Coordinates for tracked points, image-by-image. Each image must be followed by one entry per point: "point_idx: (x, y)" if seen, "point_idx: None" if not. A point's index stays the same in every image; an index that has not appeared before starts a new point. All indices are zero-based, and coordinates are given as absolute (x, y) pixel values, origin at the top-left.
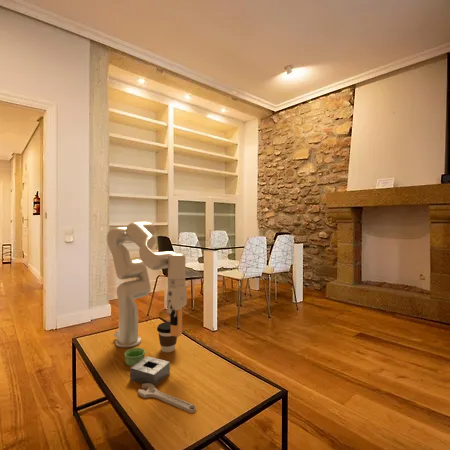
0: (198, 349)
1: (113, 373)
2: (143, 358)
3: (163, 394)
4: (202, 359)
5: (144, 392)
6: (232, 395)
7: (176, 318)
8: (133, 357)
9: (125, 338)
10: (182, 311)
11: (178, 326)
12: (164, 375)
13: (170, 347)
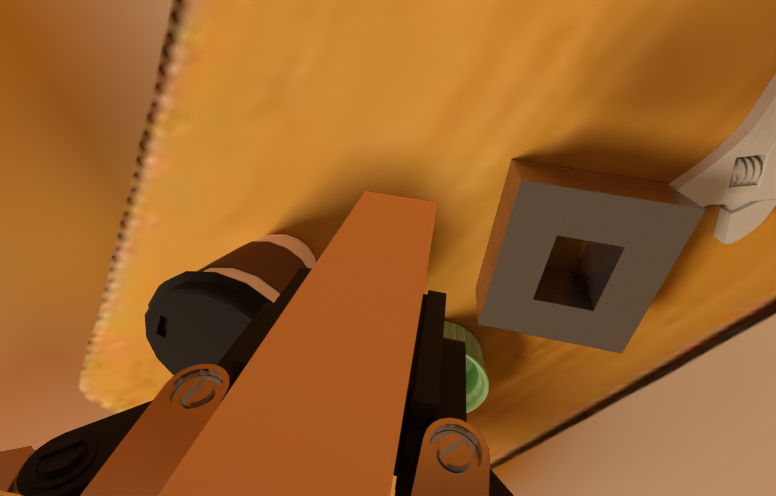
0: (207, 102)
1: (550, 385)
2: None
3: None
4: (301, 20)
5: (759, 204)
6: None
7: (440, 376)
8: (485, 373)
9: None
10: (171, 381)
11: (428, 260)
12: (568, 171)
13: (298, 253)
